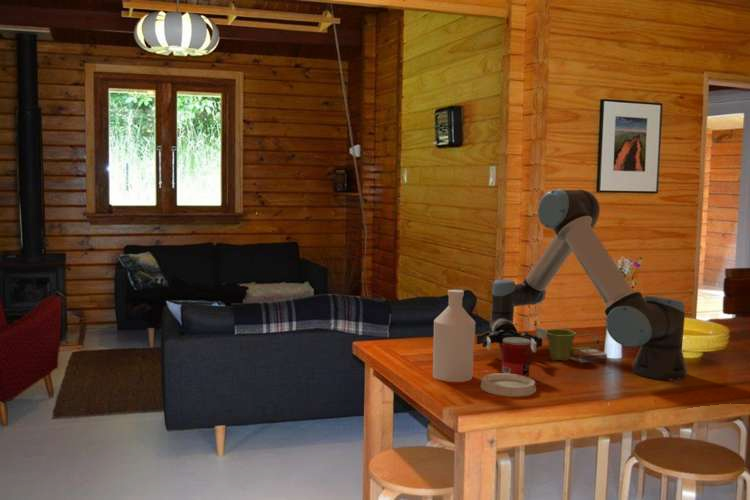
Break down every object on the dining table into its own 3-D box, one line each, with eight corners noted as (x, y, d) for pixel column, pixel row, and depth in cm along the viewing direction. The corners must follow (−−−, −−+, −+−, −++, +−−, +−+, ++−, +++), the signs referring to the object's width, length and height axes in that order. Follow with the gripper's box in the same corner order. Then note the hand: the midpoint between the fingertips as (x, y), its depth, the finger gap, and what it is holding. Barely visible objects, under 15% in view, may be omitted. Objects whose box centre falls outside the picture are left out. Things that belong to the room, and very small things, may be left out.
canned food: (529, 381, 221) (530, 343, 219) (500, 379, 222) (502, 341, 221) (529, 374, 228) (531, 338, 227) (501, 372, 230) (503, 336, 228)
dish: (539, 384, 218) (539, 376, 217) (532, 399, 203) (532, 390, 203) (485, 378, 222) (486, 370, 222) (475, 392, 208) (476, 384, 208)
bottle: (477, 374, 227) (481, 289, 224) (466, 384, 216) (470, 295, 213) (438, 369, 232) (442, 286, 229) (426, 378, 221) (429, 292, 218)
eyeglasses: (533, 337, 281) (534, 326, 281) (571, 333, 290) (572, 323, 289) (562, 346, 268) (563, 335, 267) (601, 342, 276) (602, 331, 276)
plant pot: (561, 363, 242) (562, 336, 241) (538, 357, 249) (539, 330, 249) (580, 360, 247) (582, 333, 247) (557, 353, 255) (559, 327, 254)
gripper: (542, 344, 255) (553, 360, 234) (466, 341, 256) (470, 357, 235) (543, 322, 254) (554, 336, 233) (467, 319, 256) (471, 333, 235)
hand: (512, 346), depth 234 cm, fingers open, 13 cm apart
